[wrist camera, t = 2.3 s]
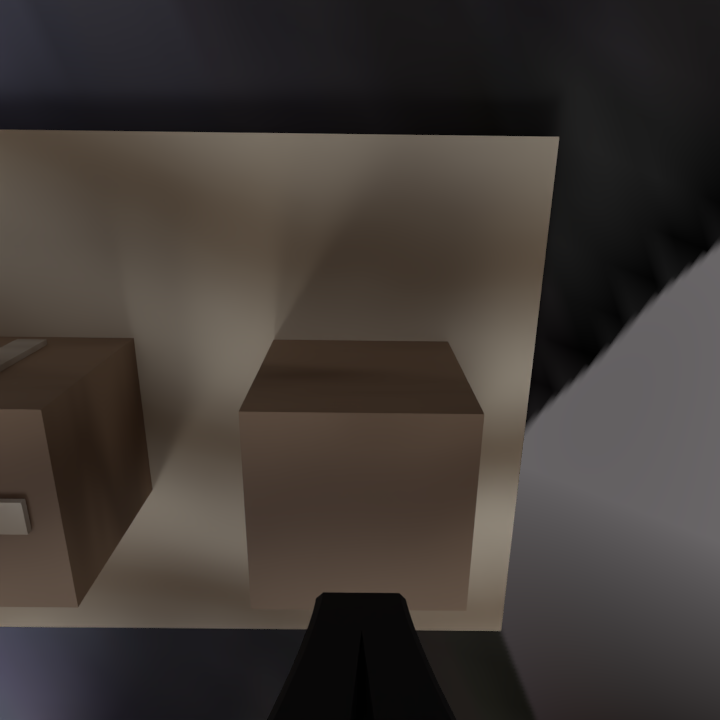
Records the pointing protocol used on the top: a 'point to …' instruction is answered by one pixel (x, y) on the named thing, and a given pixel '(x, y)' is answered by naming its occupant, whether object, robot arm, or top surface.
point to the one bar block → (67, 463)
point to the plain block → (360, 473)
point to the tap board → (271, 317)
